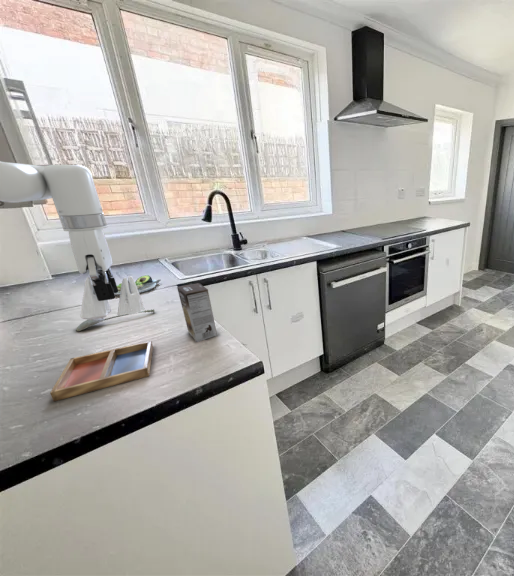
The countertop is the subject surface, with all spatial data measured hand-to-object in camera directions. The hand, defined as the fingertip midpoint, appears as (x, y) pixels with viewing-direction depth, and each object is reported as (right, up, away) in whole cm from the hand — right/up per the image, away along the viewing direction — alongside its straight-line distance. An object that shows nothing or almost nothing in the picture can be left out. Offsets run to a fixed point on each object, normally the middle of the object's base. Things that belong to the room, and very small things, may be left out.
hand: (108, 295), depth 77 cm
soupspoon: (-27, -10, +33) cm, 44 cm away
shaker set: (0, -6, +2) cm, 6 cm away
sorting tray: (-4, -20, +5) cm, 21 cm away
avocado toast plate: (-46, +1, +65) cm, 80 cm away
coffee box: (+10, -13, +24) cm, 29 cm away
